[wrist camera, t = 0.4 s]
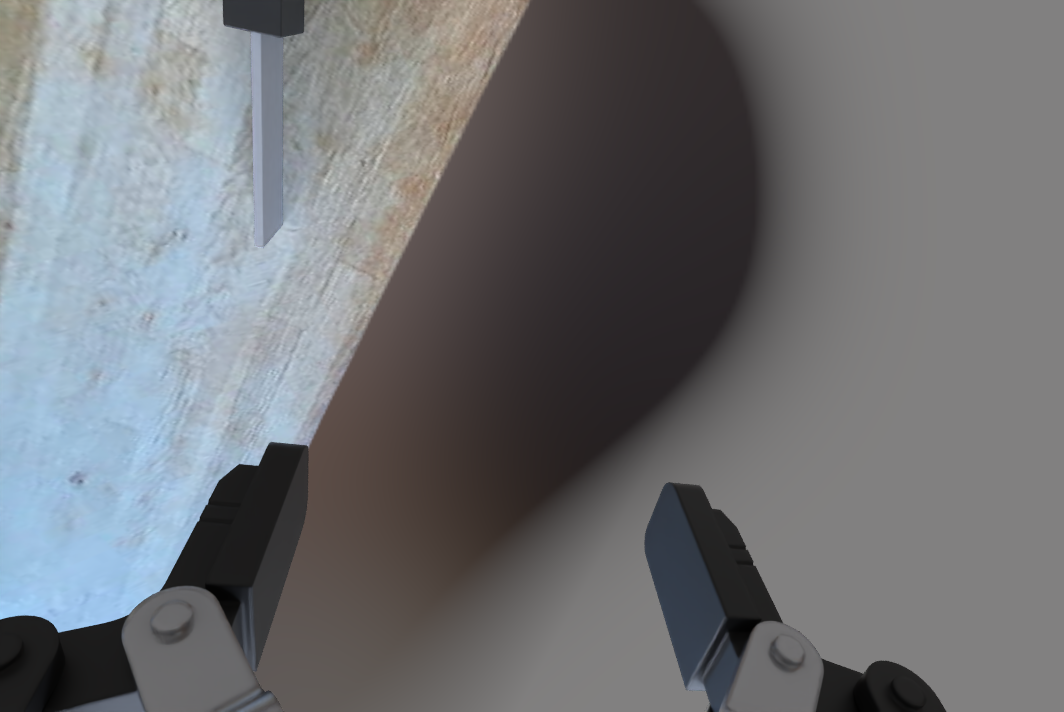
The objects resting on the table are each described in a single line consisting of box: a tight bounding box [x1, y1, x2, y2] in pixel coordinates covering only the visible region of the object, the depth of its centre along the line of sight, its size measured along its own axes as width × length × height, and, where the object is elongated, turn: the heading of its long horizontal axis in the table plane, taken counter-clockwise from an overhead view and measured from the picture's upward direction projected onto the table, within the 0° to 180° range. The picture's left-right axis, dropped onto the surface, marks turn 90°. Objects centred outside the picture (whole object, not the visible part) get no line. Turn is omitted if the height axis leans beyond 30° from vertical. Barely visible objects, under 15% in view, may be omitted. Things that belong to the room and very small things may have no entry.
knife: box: [223, 0, 304, 248], centre depth 31 cm, size 19×3×4 cm, turn 168°
